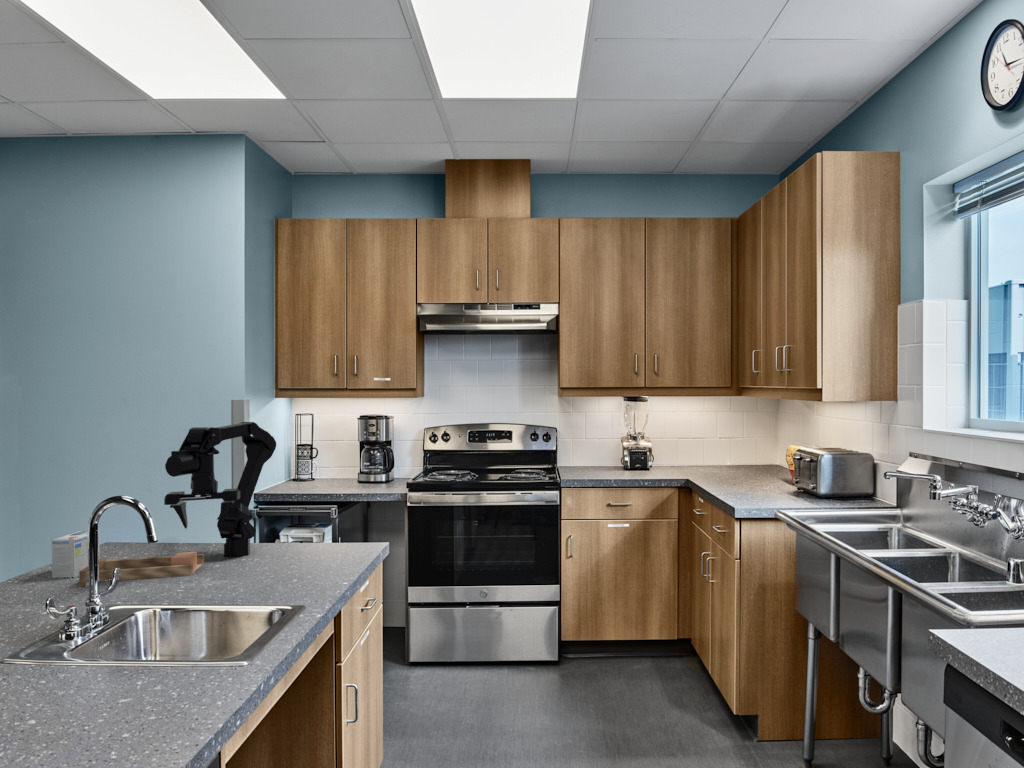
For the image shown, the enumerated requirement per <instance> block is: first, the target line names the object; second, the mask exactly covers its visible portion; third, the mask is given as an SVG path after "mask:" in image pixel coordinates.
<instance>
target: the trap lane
mask: <svg viewBox="0 0 1024 768" xmlns="http://www.w3.org/2000/svg"><path fill="white" fill-rule="evenodd" d="M173 556H174V555H166V556H151V557H150V556H149V557H148V556H147V557H137V558H135V557H134V558H118V559H117V558H116V559H107V558H100V559H99V560H98V564H99V582H98V583H101V582H100V581H103V582H106V581H105V580H109V579H110V580H111V579H112V576H113V569H115V568H120V572H121V575H120V577H119V580H118V581H128V580H140V579H141V580H143V579H144V580H145V579H155V578H157V579H158V578H167V577H168V578H169V577H183V576H192V575H193V574H194V573H195V572H196V571H197V570H198V569H199V568H200V567H201V566H203V564H204V563H205V553H197V566H196V567H195V568H194V569H193V564H187V565H173V566H171V558H172V557H173ZM78 579H79V582H78V583H79V588H82V587H81V586H85V587H89V586H88V583H89V566H88V567H86V568H84V569H83V570H81V571H79V576H78ZM86 585H87V586H86Z"/></svg>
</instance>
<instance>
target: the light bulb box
mask: <svg viewBox="0 0 1024 768" xmlns="http://www.w3.org/2000/svg"><path fill="white" fill-rule="evenodd" d="M89 531H90V530H86V531H85V530H79V531H75V532H73V533H70V534H67V535H63V536H60V537H57V538H53V539H51V569H52V570H51V574H52V575H51V577H66V578H65V579H75V578H77V577H79V571H81V570H83V569H84V568H86V567H88V549H89ZM97 531H98V556H99V559H101V557H100V554H101V553H100V530H97ZM67 577H68V578H67ZM72 577H73V578H72ZM74 577H75V578H74Z"/></svg>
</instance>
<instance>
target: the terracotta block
mask: <svg viewBox="0 0 1024 768" xmlns="http://www.w3.org/2000/svg"><path fill="white" fill-rule="evenodd" d="M197 554H198V552H197V551H188V552H185V551H184V552H177V553H175V555H172V556H173V557H172V558H171V566H173V565H187V564H193V569H194V568H195V567H196V566H197Z"/></svg>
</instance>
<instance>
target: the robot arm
mask: <svg viewBox="0 0 1024 768" xmlns="http://www.w3.org/2000/svg"><path fill="white" fill-rule="evenodd" d="M240 437H241V441H242V443H243V444H244V445H245V447H246V448H245V454H246V458H247V460H246V462H245V465H244V468H243V471H242V474H241V475H240V476H241V477H240V480H239V483H238V484H237V487H236V488H225V489H224V490H222V491H218V485H219V482H218V481H217V479H216V478H215V465H214V464H215V461H214V459H215V457H214V455H218V454H220V451H219V450H218V449H217V448H215V447H216V446H217V445H220V444H221V443H222V442H223V441H226V440H232V439H236V438H240ZM276 448H277V441H276V440H275V438H274V436H273V435H271V434H270V433H269V432H268V431H267V430H264V429H263V428H261V426H259V424H258V423H256V422H254V421H241V422H239V423H234V424H228V425H223V426H218V427H212V426H211V427H206V426H205V427H204V426H203V427H202V426H200V427H191V428H189V429H188V432H187V434H186V437H184V440H183V442H182V444H181V446H180V447H179V449H178V450H172V451H171V452H170V456H169V457H168V458H167V459H166V462H165V464H164V466H165V471H166V473H167V475H169V477H180V476H181V477H182V476H186V475H191V477H190V490H191V493H185V490H183V491H171V492H169V493H167V494H165V496H164V498H163V499H164V503H163V504H164V506H168V505H169V508H172V509H174V511H175V513H176V514H177V515H178V517H179V519H180V522H181V523H182V525H183V527H184V529H185V530H186V529H188V517H187V502H188V501H203V500H206V501H207V500H223V501H221V503H220V513H219V515H218V517H217V518H216V520H217V524H216V527H217V529H218V532H219V536H220V539H225V543H224V544H223V557H225V558H241V557H247V556H249V555H251V539H253V538H254V537H256V536H255V535H256V532H257V530H256V528H255V527H254V525H252V523H251V522H250V521H251V513H250V509H249V507H250V503H251V501H252V497H253V496H254V492H255V489H256V487H257V484H258V481H259V478H260V475H261V473H262V469H263V467H264V464H265V463H266V462H268V461H269V460H270V459H271V458H272V457H273V454H274V452H275V450H276Z"/></svg>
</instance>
